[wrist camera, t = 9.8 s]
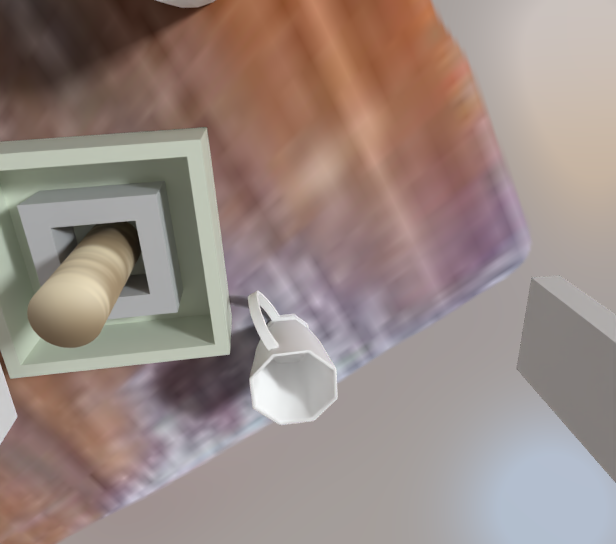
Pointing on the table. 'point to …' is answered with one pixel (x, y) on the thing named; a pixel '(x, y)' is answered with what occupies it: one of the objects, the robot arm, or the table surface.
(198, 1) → the mug
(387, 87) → the table surface
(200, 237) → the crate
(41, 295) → the peg
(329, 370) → the cup
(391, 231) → the table surface
